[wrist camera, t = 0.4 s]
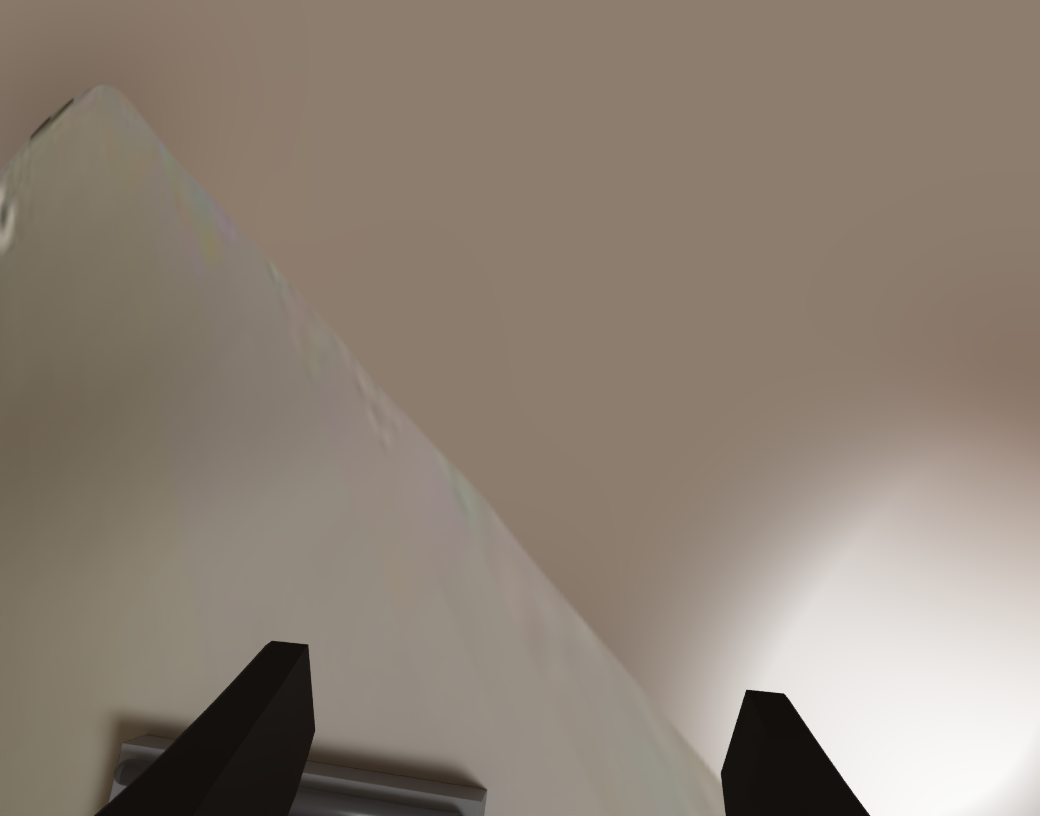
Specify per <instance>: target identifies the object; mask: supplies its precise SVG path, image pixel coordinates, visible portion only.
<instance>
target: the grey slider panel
mask: <svg viewBox="0 0 1040 816" xmlns="http://www.w3.org/2000/svg"><path fill="white" fill-rule="evenodd" d="M174 741H175V739H169V738H163V737H156V736H150V735H143V736H141V737H138V738H135V739H132V740H130V741H127V742H124V743H122V746H121V751H120V755H119V759H118V764H117V767H116V769H115V772H114V781H113V786H112V790H111V794H110V799H109V802H110V801H112V800H113V799H114V798H115V797H116V796H117V795H118V794H119V793H120V792H121V791H122V790H123V789H125V788H126V787H127V786H128V785H129V784H130V783H131V782H132V781H133V780H134V779H135V778H136V777H138V776H139V775H140V774H141V773H142V772H143V771H144V770H145V769H146V768H147V767H148V766H149V765H151V764H152V763H153V762H154V761H155V760H156V759H157V758H158V757H159V756H160V755H161V754H162V753H163V752H164V751H165V750H166V749H167V748H168V747H169V746H170V745H171V744H172V743H173V742H174ZM486 795H487V790H485V789H479V788H473V787H466V786H460V785H454V784H448V783H442V782H435V781H429V780H423V779H417V778H411V777H404V776H398V775H392V774H386V773H380V772H373V771H367V770H361V769H355V768H349V767H342V766H336V765H330V764H324V763H318V762H311V761H306V764H305V767H304V771H303V774H302V777H301V780H300V784H299V787H298V790H297V793H296V796H295V799H294V801H293V804H292V806H291V809H290V811H289V814H288V816H484V811H485V803H486Z"/></svg>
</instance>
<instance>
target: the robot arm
mask: <svg viewBox="0 0 1040 816" xmlns="http://www.w3.org/2000/svg"><path fill="white" fill-rule="evenodd" d="M314 733H315V721H314V709H313V697H312V685H311V672H310V660H309V648H308V644H298V643H288V642H279V641H271V642H270V643H268V644H267V645H266V646H265V647H264V648H263V649H262V650H261V651H260V652H259V653H258V654H257V655H256V657H255V658H254V659H253V660H252V661H251V662H250V663H249V664H248V665H247V666H246V668H245V669H244V670H243V671H242V672H241V673H240V674H239V675H238V676H237V677H236V678H235V680H234V681H233V682H232V683H231V684H230V685H229V686H228V687H227V688H226V689H225V690H224V691H223V692H222V693H221V694H220V696H219V697H218V698H217V699H216V700H215V701H214V702H213V703H212V704H211V705H210V706H209V707H208V708H207V709H206V710H205V711H204V712H203V713H202V714H201V715H200V716H199V717H198V718H197V719H196V720H195V721H194V722H193V723H192V724H191V725H190V726H189V727H188V728H187V729H186V730H185V731H184V732H183V733H182V734H181V735H180V736H179V737H178V738H177V739H176V740H175V741H174V742H173V743H172V744H171V745H170V746H169V747H168V748H167V749H166V750H165V751H164V752H163V753H162V754H161V755H160V756H159V757H158V758H157V759H156V760H155V761H154V762H153V763H152V764H151V765H149V766H148V767H147V768H146V769H145V770H144V771H143V772H142V773H141V774H140V775H139V776H138V777H136V778H135V779H134V780H133V781H132V782H131V783H130V784H129V785H128V786H127V787H126V788H125V789H123V790H122V791H121V792H120V793H119V794H118V795H117V796H116V797H115V798H114V799H113V800H112V801H110V802H109V803H108V804H107V805H106V806H105V807H104V808H102V809H101V810H100V811H99V812H98V813H97V814H96V815H94V816H288V814H289V811H290V809H291V806H292V804H293V801H294V799H295V796H296V793H297V790H298V787H299V784H300V780H301V777H302V774H303V771H304V767H305V764H306V761H307V757H308V754H309V750H310V747H311V743H312V740H313V736H314ZM721 779H722V788H723V796H724V804H725V813H726V816H870V815H869V813H868V812H867V811H866V810H865V808H864V807H863V806H862V804H861V803H860V801H859V800H858V799H857V797H856V796H855V795H854V794H853V792H852V790H851V789H850V788H849V786H848V785H847V783H846V782H845V781H844V779H843V778H842V776H841V775H840V773H839V772H838V771H837V769H836V768H835V766H834V765H833V764H832V762H831V761H830V759H829V758H828V756H827V755H826V753H825V752H824V751H823V749H822V748H821V746H820V745H819V743H818V742H817V740H816V739H815V737H814V736H813V734H812V733H811V731H810V730H809V728H808V727H807V726H806V724H805V723H804V721H803V720H802V718H801V717H800V715H799V714H798V712H797V711H796V709H795V708H794V706H793V705H792V703H791V702H790V700H789V699H788V698H787V697H786V695H785V694H783V693H773V692H764V691H754V690H746V692H745V696H744V699H743V702H742V705H741V709H740V712H739V715H738V719H737V722H736V725H735V729H734V732H733V735H732V738H731V742H730V745H729V748H728V752H727V755H726V758H725V761H724V764H723V768H722V771H721Z"/></svg>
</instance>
